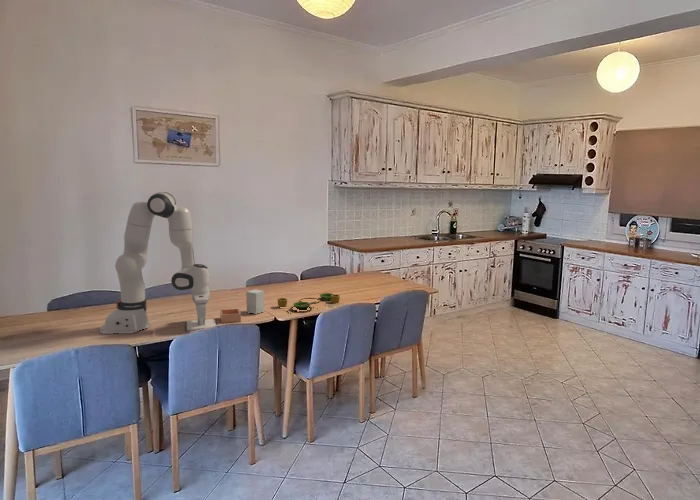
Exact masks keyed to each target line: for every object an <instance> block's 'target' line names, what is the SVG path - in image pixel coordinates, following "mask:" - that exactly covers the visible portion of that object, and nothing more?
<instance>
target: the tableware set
mask: <svg viewBox="0 0 700 500" xmlns="http://www.w3.org/2000/svg"><path fill="white" fill-rule="evenodd" d="M319 297H320V298H321V299H323V300H322V301H325V300H330V302H332V303H331V304H326V305H327V306H328V307H327V306H326V307H327V308H329V309H330V308H333V307H340V306H339V305H343V303H342V302H341V303H340V299H341V295H340V294H337V293H336V294H334V293H330V292H329V293H328V292H324V293H320V294H319ZM303 299H317V300H319V301H318V302H316V301H315V302H311V303H308V302H302V301H301V300H303ZM276 300H277V306H278V308H279V307H286V308H287V306H288V305H287V304H288V298H284V297H279V298H277V299H276ZM320 302H321V300H320V299H319V298H317V297H303V298H300V299H299V301H296V302H294V303H292V304H293V306H291V307H290V310H291V311H292V310H293V309H292V308H293V307H296V308H297V309H299V310H307V308H308V307H309V308H310V310H307V311H309V312H311V311H312V310H313V307H311V305H314V304H313V303H315V304H318V303H320ZM334 303H335V304H334ZM336 303H337V304H336ZM294 311H297V310H293V311H292V312H294ZM307 311H299V312H298V313H300V312H303V313H308V312H307Z"/></svg>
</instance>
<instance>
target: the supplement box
mask: <svg viewBox="0 0 700 500" xmlns="http://www.w3.org/2000/svg"><path fill="white" fill-rule="evenodd" d="M245 295H246V313H247V312H249V313H254V314H257V313H260V312H263V311H264V312H265V291H264V290H261V289H255V288H254V289H251V290H247V291H246V294H245ZM264 312H263V313H264ZM249 313H248V314H249ZM254 314H253V315H254ZM260 314H261V313H260ZM257 315H258V314H257Z"/></svg>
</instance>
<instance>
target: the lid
mask: <svg viewBox="0 0 700 500" xmlns="http://www.w3.org/2000/svg"><path fill="white" fill-rule="evenodd" d="M215 320H216V319H215V318H212V319H211V318H208V319H206V317H205V318H203V324H200V320H199V319H198V318H197V320H196V319H195V320H193V319H192V320H187V321H186V322H187V332H192V331H191V330H200V329H204V328H209V327H213V326H216V323H215ZM200 331H201V330H200Z"/></svg>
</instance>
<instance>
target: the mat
mask: <svg viewBox="0 0 700 500" xmlns="http://www.w3.org/2000/svg"><path fill="white" fill-rule="evenodd" d="M215 323H216V325H218V326H219V324H218V320H217V319H215ZM184 332H188V331H187V321H184ZM190 332H196V330H191V331H190Z"/></svg>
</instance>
